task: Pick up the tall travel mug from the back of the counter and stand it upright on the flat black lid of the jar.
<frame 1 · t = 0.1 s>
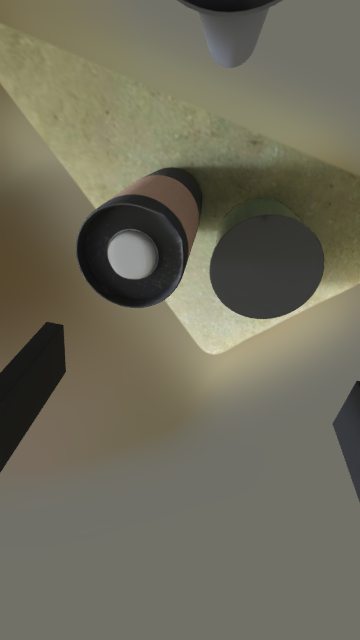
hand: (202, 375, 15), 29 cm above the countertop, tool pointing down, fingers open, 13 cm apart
travel mug: (172, 199, 39), on the countertop
jar: (257, 241, 40), on the countertop
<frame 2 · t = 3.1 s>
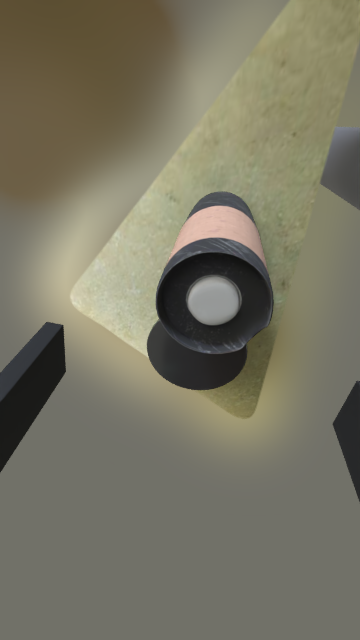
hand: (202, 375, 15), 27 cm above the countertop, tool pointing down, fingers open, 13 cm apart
travel mug: (220, 223, 38), on the countertop
jar: (202, 309, 44), on the countertop
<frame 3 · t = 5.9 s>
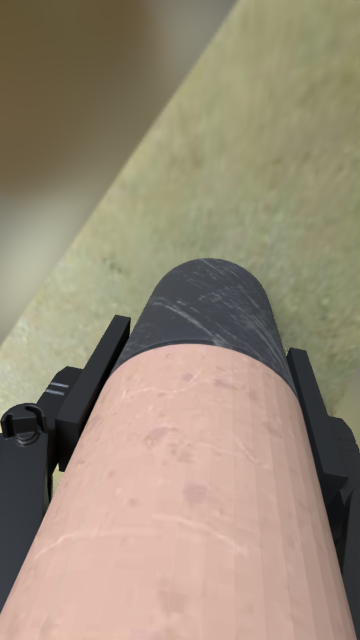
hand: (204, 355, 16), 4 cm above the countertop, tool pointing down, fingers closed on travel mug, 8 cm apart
travel mug: (208, 312, 20), on the countertop, touching gripper
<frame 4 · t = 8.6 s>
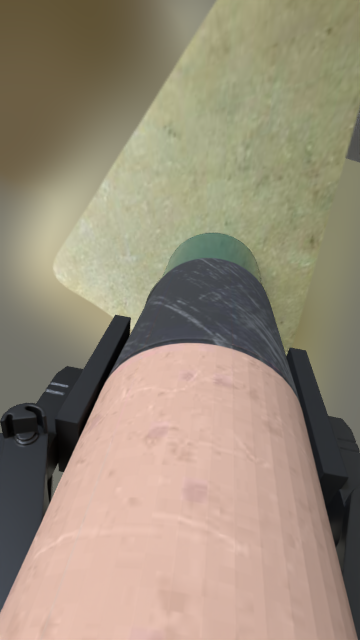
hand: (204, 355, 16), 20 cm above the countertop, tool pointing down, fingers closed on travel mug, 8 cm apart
travel mug: (208, 311, 20), point 16 cm above the countertop, touching gripper
jar: (211, 278, 36), on the countertop
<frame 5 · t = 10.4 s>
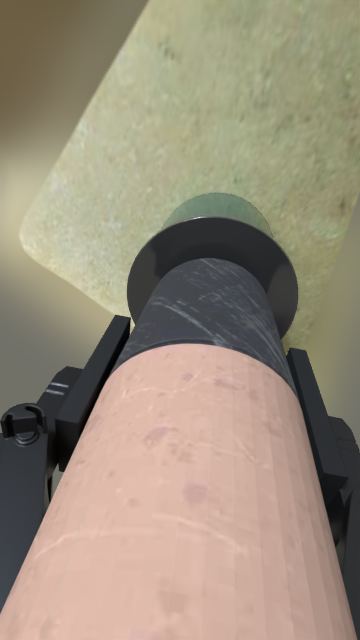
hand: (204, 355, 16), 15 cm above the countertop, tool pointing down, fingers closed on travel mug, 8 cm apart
travel mug: (208, 311, 20), point 11 cm above the countertop, touching gripper
jar: (214, 252, 29), on the countertop
when the fingers open (14 cm above the countertop, at t = 11.3 s): travel mug stays where it is, resting on jar.
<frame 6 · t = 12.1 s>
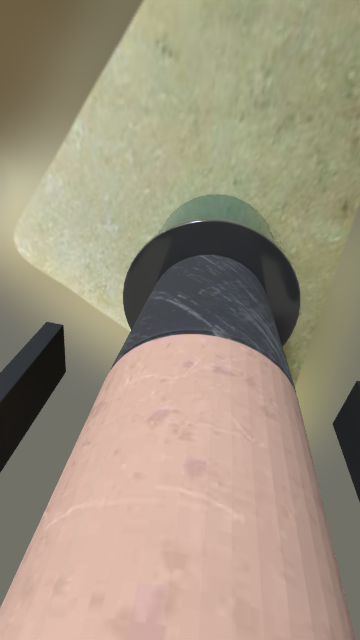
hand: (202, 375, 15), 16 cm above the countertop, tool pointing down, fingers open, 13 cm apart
travel mug: (208, 307, 21), point 9 cm above the countertop, touching jar
jar: (214, 255, 29), on the countertop
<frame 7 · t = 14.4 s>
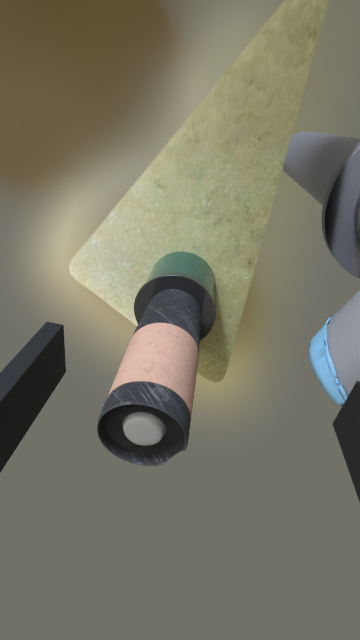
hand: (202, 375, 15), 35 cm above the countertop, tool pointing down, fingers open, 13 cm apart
travel mug: (174, 312, 44), point 9 cm above the countertop, touching jar
jar: (182, 282, 52), on the countertop
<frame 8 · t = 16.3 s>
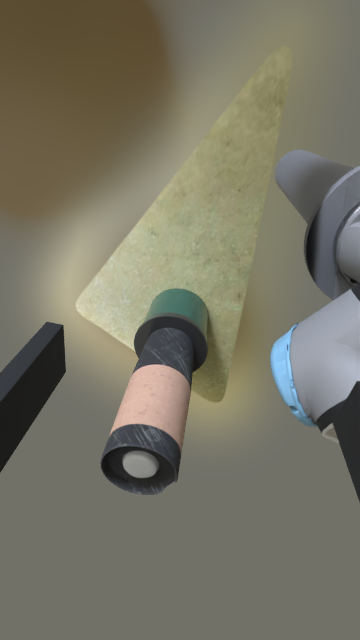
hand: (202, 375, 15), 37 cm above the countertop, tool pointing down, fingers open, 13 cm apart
travel mug: (170, 347, 48), point 9 cm above the countertop, touching jar
jar: (178, 315, 56), on the countertop
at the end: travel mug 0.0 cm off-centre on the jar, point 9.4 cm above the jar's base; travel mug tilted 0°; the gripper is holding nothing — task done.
